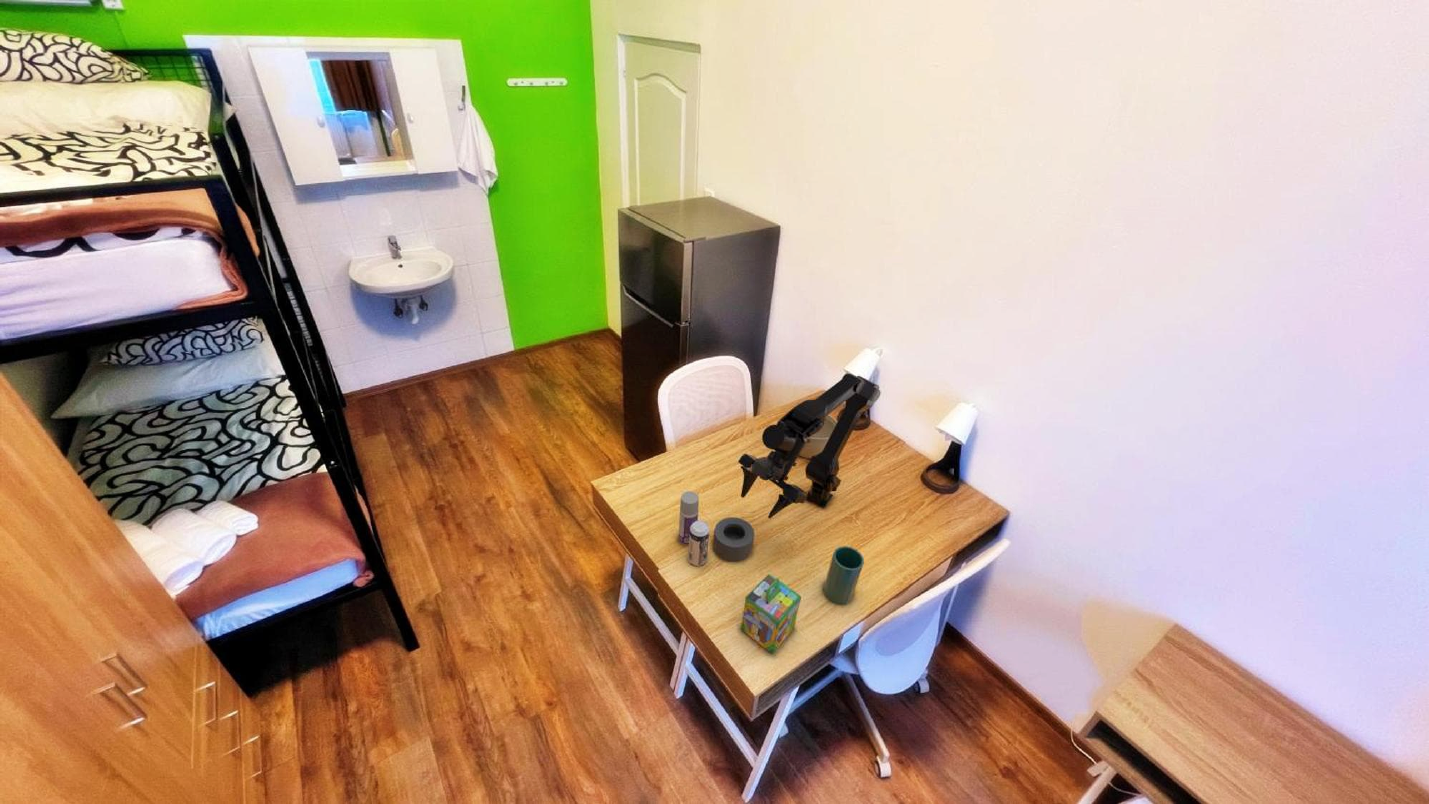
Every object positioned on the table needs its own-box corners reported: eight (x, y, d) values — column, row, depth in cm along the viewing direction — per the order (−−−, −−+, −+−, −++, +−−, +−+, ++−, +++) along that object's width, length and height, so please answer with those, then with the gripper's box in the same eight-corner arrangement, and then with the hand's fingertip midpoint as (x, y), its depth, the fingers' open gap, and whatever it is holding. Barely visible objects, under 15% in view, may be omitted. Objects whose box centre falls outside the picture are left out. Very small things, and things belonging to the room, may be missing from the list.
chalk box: (772, 655, 121) (781, 613, 112) (739, 629, 125) (746, 587, 117) (795, 627, 127) (806, 586, 118) (763, 603, 131) (771, 562, 123)
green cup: (830, 575, 140) (840, 541, 133) (856, 589, 137) (868, 555, 130) (819, 594, 135) (828, 560, 128) (846, 609, 132) (857, 575, 125)
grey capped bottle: (704, 568, 139) (707, 535, 132) (686, 564, 139) (688, 531, 133) (708, 554, 143) (711, 521, 136) (690, 550, 143) (692, 517, 137)
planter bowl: (836, 467, 175) (843, 440, 169) (786, 464, 175) (791, 436, 169) (828, 436, 189) (834, 410, 183) (781, 433, 188) (786, 407, 182)
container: (698, 535, 148) (702, 493, 139) (692, 548, 144) (695, 506, 136) (682, 530, 149) (684, 488, 140) (675, 542, 145) (677, 500, 137)
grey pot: (726, 526, 151) (727, 511, 148) (758, 543, 147) (761, 528, 144) (705, 549, 144) (706, 534, 141) (739, 568, 140) (741, 553, 137)
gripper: (742, 429, 135) (711, 484, 136) (802, 469, 124) (767, 528, 126) (764, 436, 144) (735, 488, 145) (821, 474, 133) (789, 529, 135)
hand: (755, 507), depth 137 cm, fingers open, 9 cm apart
